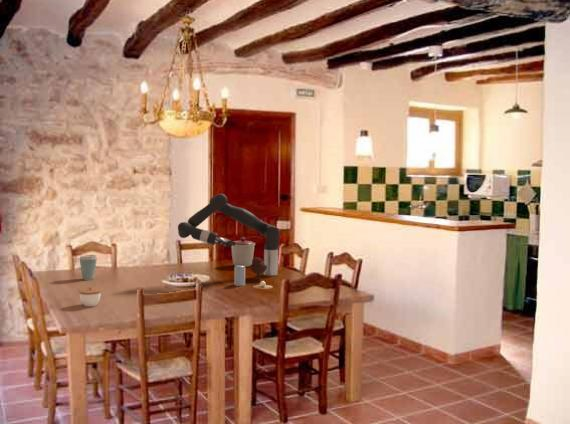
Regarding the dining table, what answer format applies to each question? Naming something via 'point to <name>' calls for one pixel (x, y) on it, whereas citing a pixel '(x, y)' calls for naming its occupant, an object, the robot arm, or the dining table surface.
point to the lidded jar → (90, 296)
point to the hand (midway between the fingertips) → (233, 244)
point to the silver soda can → (239, 275)
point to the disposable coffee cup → (88, 266)
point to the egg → (262, 283)
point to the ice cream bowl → (258, 267)
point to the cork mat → (262, 287)
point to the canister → (243, 252)
